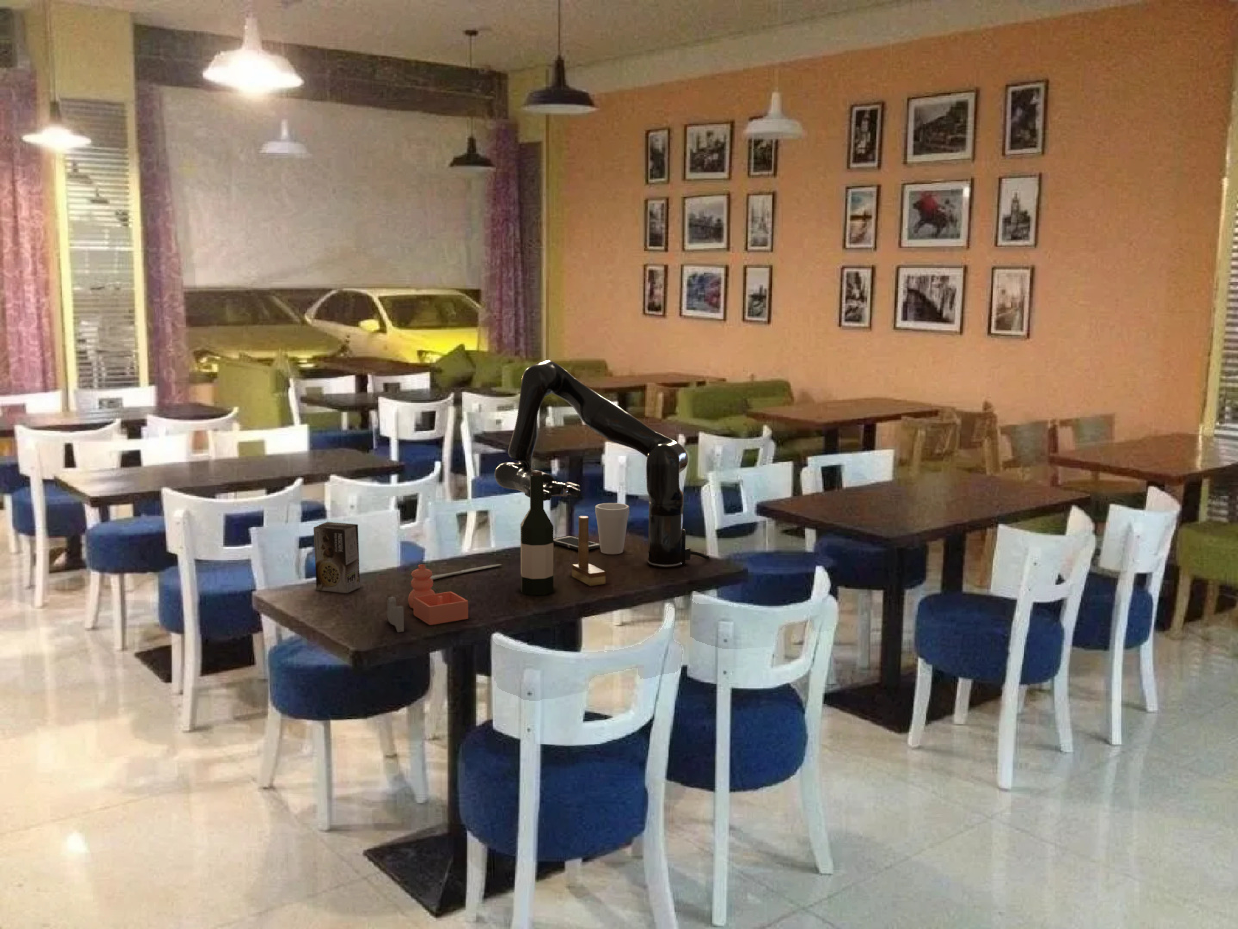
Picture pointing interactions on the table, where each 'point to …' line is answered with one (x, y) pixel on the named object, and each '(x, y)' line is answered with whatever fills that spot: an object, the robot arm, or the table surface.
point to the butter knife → (461, 572)
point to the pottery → (434, 600)
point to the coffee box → (336, 557)
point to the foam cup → (612, 526)
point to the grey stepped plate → (395, 614)
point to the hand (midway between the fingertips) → (564, 495)
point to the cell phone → (573, 542)
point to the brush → (586, 557)
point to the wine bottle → (536, 543)
